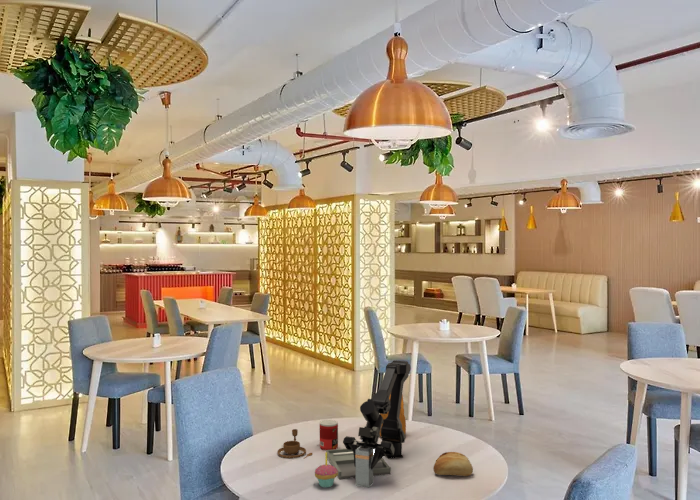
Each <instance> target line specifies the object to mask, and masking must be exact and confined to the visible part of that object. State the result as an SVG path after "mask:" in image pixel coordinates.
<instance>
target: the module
mask: <svg viewBox="0 0 700 500" xmlns="http://www.w3.org/2000/svg"><path fill="white" fill-rule="evenodd" d="M355 458H356V478H355V487H362V488H367V489H369V488H370V487H371V486H372V485H373V484H374V476H373V469H371V463H372V460H373V447H370V446H364V445H362V446H360V447H358V448H357V449H356V454H355Z"/></svg>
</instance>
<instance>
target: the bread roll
mask: <svg viewBox="0 0 700 500" xmlns="http://www.w3.org/2000/svg"><path fill="white" fill-rule="evenodd" d="M432 469H433V472H434V474H436V475H438V476H457V477H458V476H459V477H469V476H471V475H472V474H473V471H474V466H473V465H472V463H471V461H470V459H469V458H468V457H467V456H466V455H465V454H463V453H461V452H457V451H448V452H446V451H445V452H443V453H442V454H440V455H439V456H438V457H437V459H436V460H435V462H434V465H433V468H432Z"/></svg>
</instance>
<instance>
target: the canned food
mask: <svg viewBox="0 0 700 500" xmlns="http://www.w3.org/2000/svg"><path fill="white" fill-rule="evenodd" d="M338 446H339V423H338V421H337V420H334V419H324V420H321V421H319V448H320V450H322V451H326V450H334V449H338Z"/></svg>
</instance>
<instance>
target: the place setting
mask: <svg viewBox="0 0 700 500" xmlns="http://www.w3.org/2000/svg"><path fill="white" fill-rule="evenodd" d="M298 433H299V432H298V429H297V428H293V429H291V435H292V437H293V440H287V441H284V442H283V445H281V448H279V449H277V455H278V457H281V458H282V457H283V459H297V458H301V457H303V456H305V455H306V456H305V457H303V460H304V459H307V458H308V457H311V456H312V455H313V452H309V453H307V450H306V448H305V447H303V446H301V443H300V442H299V441H298V440H297V436H298ZM281 451H282V452H284V453H285V454H287V455H285V454H281V453H282V452H281ZM299 451H301V452H303V453H300V454H297V453H298V452H299ZM306 453H307V454H306Z"/></svg>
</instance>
